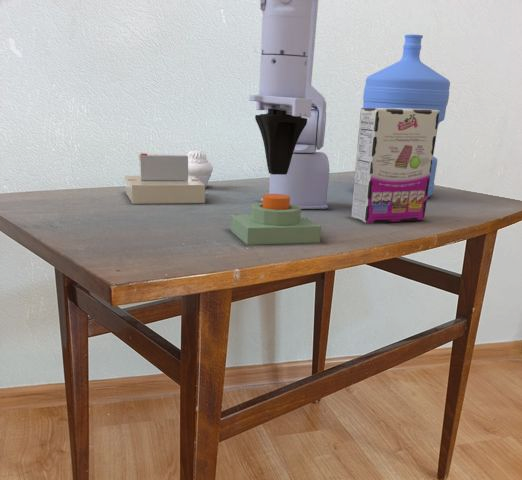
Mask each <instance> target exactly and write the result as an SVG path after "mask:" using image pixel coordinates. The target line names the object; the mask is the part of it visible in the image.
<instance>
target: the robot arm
mask: <svg viewBox="0 0 522 480" xmlns="http://www.w3.org/2000/svg"><path fill="white" fill-rule="evenodd" d="M259 4H260V10H261V11H262V18H261V40H260V63H259V64H260V66H259V89H258V93H257V94H249V101H250V102H256V107H255V108H256V111H264V113H260V114H255V115H254V119H255V122H256V123H257V126H258V129H259V132H260V134H261V138H262V143H263V147H264V153H265V160H266V165H267V171H268V174H269V187H268V194H283V195H288V196H290V204H293V205H297V206H299V207H301V210H327V209H329V206H328V205H327V202H328V201H327V200H328V191H329V190H328V188H329V179H330V161H329V157H328V155H327V154H326V153H325V152H323V151H320V150H321V149H322V148H323V147H324V144H325V137H326V136H325V135H326V134H325V133H326V126H327V125H326V124H327V101H326V98H325V96H324V95H323V94H321V93H320V92H319V91H318V90H317V89H316V88H315V87H314V86H313V85H312V82H313V81H312V79H313V68H314V58H315V57H314V56H315V46H316V45H315V44H316V34H317V21H318V9H319V0H260V2H259ZM318 150H319V151H318ZM260 201H261V202H263V197H261V198H260Z"/></svg>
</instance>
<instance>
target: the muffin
mask: <svg viewBox="0 0 522 480" xmlns="http://www.w3.org/2000/svg"><path fill="white" fill-rule="evenodd" d="M186 155H187V156H188V176H193V177H195V178H196V179H200V180H199V181H200V182H202V183H203V184H204V185H205V188H206V187H207V184H208V182H209V180H210V179H211V177H212V173H213V171H214V167H213V165H212V164H211V162H209V160H208V158H207V155H206V153H205V151H202V150H198V149H197V148H196V149H195V150H194V149H193V150H190V151H188V152H187V154H186Z"/></svg>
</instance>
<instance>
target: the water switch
mask: <svg viewBox="0 0 522 480" xmlns="http://www.w3.org/2000/svg"><path fill="white" fill-rule="evenodd" d="M249 210H250V211H249V214H248V213H247V214H231V215H230V232H232V233H233V234H234V235H235V236H237V237H238V238H239V239H240V240H241V241H242V242H243V243H245V245H247V246H248V245H251V246H252V245H276V244H277V245H279V244H306V243H307V244H309V243H321V234H322V225H320V224H318V223H317V222H314V221H313V220H311V219H309V218H308V217H306V216H304V215H302V214H301V213H302V209H301V207H299V206H297V205H293V204H290V208H289V209H287V210H273V209H266V208H262V201H261V202H253V203H252V204H251V205H250V209H249Z"/></svg>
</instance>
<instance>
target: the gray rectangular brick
mask: <svg viewBox="0 0 522 480" xmlns="http://www.w3.org/2000/svg"><path fill="white" fill-rule="evenodd" d="M138 162H139V163H138V165H139V166H138V167H139V169H138V170H139V176H140V180H188V156H187V154H148V153H147V152H140V153H139V154H138Z"/></svg>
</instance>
